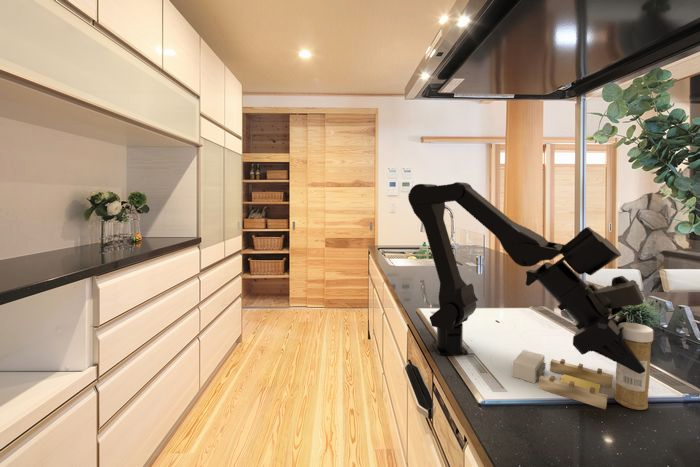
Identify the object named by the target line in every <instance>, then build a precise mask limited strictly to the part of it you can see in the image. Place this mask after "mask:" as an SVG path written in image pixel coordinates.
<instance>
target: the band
mask: <svg viewBox="0 0 700 467" xmlns="http://www.w3.org/2000/svg"><path fill="white" fill-rule="evenodd" d="M559 381H561V382H565V383H568V384H569V383H570V381H573V382H574V385H575V386H578V387H582V388H585V389H589V390H590V388H591V387H593V388H595V392H599V393H600V390H601V388H602V387H601V386H602V385H601V384H598V383H594V382H590V381H587V380H583V379H580V378H576V377H573V376H569V375H566V374H562V376H561V378H560V380H559Z"/></svg>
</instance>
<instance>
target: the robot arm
mask: <svg viewBox="0 0 700 467" xmlns="http://www.w3.org/2000/svg"><path fill="white" fill-rule="evenodd" d="M407 198H408V202H409V205H410V206H411V209H412V211H413V213H414V215H415V216H416V217H417V218H418V219H419V221H420V222H421V223H422V225H423V228H424V232H425V234H426V239H427V242H428V245H429V248H430V252H431V255H432V260H433V263H434V267H435V269H436V273H437V277H438V280H439V291H438V304H439V306H438V307H439V309H438V310H436V311H435V312H434V313H433V314H432V315H430V316H429V321H430V324H431V327H434V328H436V341H432V342H431V343H432V346H433V347H434V349H435V350H436V351H437V353H438V355H439V356H452V355H451V354H459V355H468V354H469V351H468V350H467V349H466V347H464V346H463V339H464V338H463V330H464V328H463V326H464V325H463V324H464V322H467V321H468V318H469V317H470V316H471V315H473V314H474V313H475V311H476V309H477V302H478V301H479V299H478V298H477V296H476V294H475V290H474V285H473V283H468V284H467V283H466V282H465V281H464V280H463V279H462V276H461V273H460V271H459V267H458V264H457V261H456V256H455V254H454V251H453V250H454V249H453V246H452V243H451V240H450V236H449V233H448V230H447V227H446V224H445V219H444V218H445V210H446V203H448V202H449V203H450V202H456V203H457V204H458V205H459V206H460V207H462V208H463V209H464V210H465V211H466V212H467V213H469V215H471V216H472V217H473V218H475V220H477V221H478V222H479V223H480V224H481V225H482V226H484V227H485V228H486V229H487V230H488V231H489V232H490V233H492V234H493V236H495V237H496V238H497V240H498V241H499V243H500V245H501V247H502V249H503V251H504V252H505V253H506V254H507V255H508V256H509V257H510V258H511V260H512V261H513V262H514V263H515V264H516V265H518V266H521V267H527V268H529V267H533V266H536V265H537V264H539V263H541V262H543V261H546V262H544V263H543V264H541V265H540V266H539V267H537V268H536V269H535V270H533V269H529V270H527V271H526V272H525V276H526V279H525V280H526V281H525V285H526V286H528V287H529V286H531V285H532V284H534V283H536V282H538V283H540V285H541V286H542V287H543V288H544V289H545V290H546V291H547V293H548V294H550V295H551V296H552V297H553V299H554V300H555V301H556V302H557V303H558V305H557V308H558V309H559V310H560V311H561V312H562V311H564V310H565V312H566V313H567V314H569V316H571V318H572V319H573V320H574V321H575V322H576V324H575V325H574V326H575V327H576V328H577V330H576V332H575V333H574V335H573V337H572V346H574V348H575V349H576V351H578V352H579V353H580V355H586V354H587V353H589V352H591V353H592V352H594V353H597V354H599V355H600V356H602V357H605V358H607V359H609V360H611V361H613V362H615V363H616V364H617V363H619V364H621V365H623V366H625V367H627V368H629V369H631V370H633V371H635V372H637V373H639V374H641V373H643V372H645V368H644V367H643V365H642V364H641V363H640V361H639V360H638V359H637V357H636V356H635V355H634V353H633V352H632V351H631V349H630V348H629V347H628V345H627V344H626V343H625V341H624V339H623V337H624V327H622V328H620V329H618V324H620V323H624V322H628V318H629V314H628V313H626V314H624V315H622V316H619V315H618V313H619V312H622V313H625V312H626V311H627V310H628V309H629V308H628V307H629V306H631V307H635V306H639V305H642V304H643V303H644V299H645V297H644V295H643V293H642V292H641V289H640V286H639V284H638V283H637V281H636V280H635V279H631V280H629V279H628V278H626V277H625V276H623V275H620V276H615V277H613V278H612V279H611V285H606V286H604V287H600V288H597V287H596V286H595V285H594V284H593V283H588V284H587V283H586V282H585V281H584V280H583V279H582V278H581V277H580V276H579V275H584V274H586V275H588V276H592V275H594V274H595V273H597V272H599V271H601V269H604V268H605V267H606V266H608V265H609V264H611V263H612V262H614V261H615V260H616V259H618V258H619V257H621V256H622V253H621V252H620V251H619V249H618V248H617V247H616V246H615V244H613V243H612V242H611V241H610V240H609V239H607V238H605V237H604V236H602V235H601V234H599V233H598V232H596V231H595V230H593V229H592V228H591V226H586V227H585V228H583V229H582V230H580V231H579V232H578V234H577V235H576V236H575V237H573V238H572V239H570V240H569V241H567V243H564V244H561V243H558V242H557V243H556V242H552V241H549V240H547V238H545V237H544V236H542V235H541V234H539V233H537V232H535V231H534V230H532V229H530V228H527V227H526V226H523V225H522V224H519V223H517V222H515V221H513V220H512V219H510V218H509V217H508V216H507V215H506V214H505V213H503V212H502V211H501V210H500V209H498V208H497V207H496V206H495V205H494V204H492V203H491V202H490V201H489V200H487V199H486V198H485V197H483V196H482V195H481V194H480V193H479V192H478V191H476V190H475V189H474V188H473V187H472V186H471V184H470V183H468V182H462V181H461V182H458V181H456V182H453V183H450V184H442V185H437V184H433V183H431V184H430V183H425V184H424V183H418V184H415V185H414V186H412V187H411V188H410V190H409V193H408V196H407ZM560 255H562V256H563V257H562V258H560V259H559V260H557V261H555V262H554V263H551V262H550V261H551V260H553V259H555V258H556V257H559V256H560ZM578 274H579V275H578Z"/></svg>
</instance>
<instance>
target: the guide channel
mask: <svg viewBox="0 0 700 467" xmlns="http://www.w3.org/2000/svg"><path fill="white" fill-rule="evenodd" d="M549 364H550V366H549V368H550V369H549V370H550V372H554V373H557V374H561V375H564V374H566V375H569V376H573V377H576V378H580V379H583V380H587V381H590V382H594V383H598V384H601V386H603V387H606V386H607V387H606V388H611V389H612V388H613V386H614V384H613V381H614V375H613V374H610V373H607V372H604V371H603V369H602V368H597V370H595V369H591V368H587V367H584V364H583V363H580V362H579V364H578V365H575V364H573V363H569V362H566V359H564V358H561V359H560V360H558V359H557V360H556V359H553V358H552V359H551V360H550V363H549ZM555 378H556V377H555V375H550V377H547V376H544V375H541V376H540V377H538V389H539V388H540V389H541V390H543V391H546V392H549V393H553V394H555V395H558V396H562V397H565V398H568V399H571V400H575V401H577V402H581V403H584V404H587V405H589V406H594V407H596V408H600V409H602V410H607V406H608V405H607V404H608V394H605V393H601V392H600V391H599V392H595V388H593V387H591V388H590V390H589V389H585V388H582V387H578V386H575V385H574V382H573V381H570V383H569V384H568V383H565V382H561V381H560V380H558V379H555Z"/></svg>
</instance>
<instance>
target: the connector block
mask: <svg viewBox="0 0 700 467" xmlns="http://www.w3.org/2000/svg"><path fill="white" fill-rule="evenodd" d="M545 359H546V357H545V354H541V353H537V352H533V351H529V350H526V349H522V351H521V352H520V353H519V354H518V355H517V356H516V357H515V359H513V361H512V370H511V372H512V373H511V377H513V376H514V377H513V378H517V379H519V378H520V379H519V380H522V381H525V382H530V383H532V384H535V383H536V382H537V380H539V377H540V376H542V374H543V373H544V371H545V370H546V362H545Z"/></svg>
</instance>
